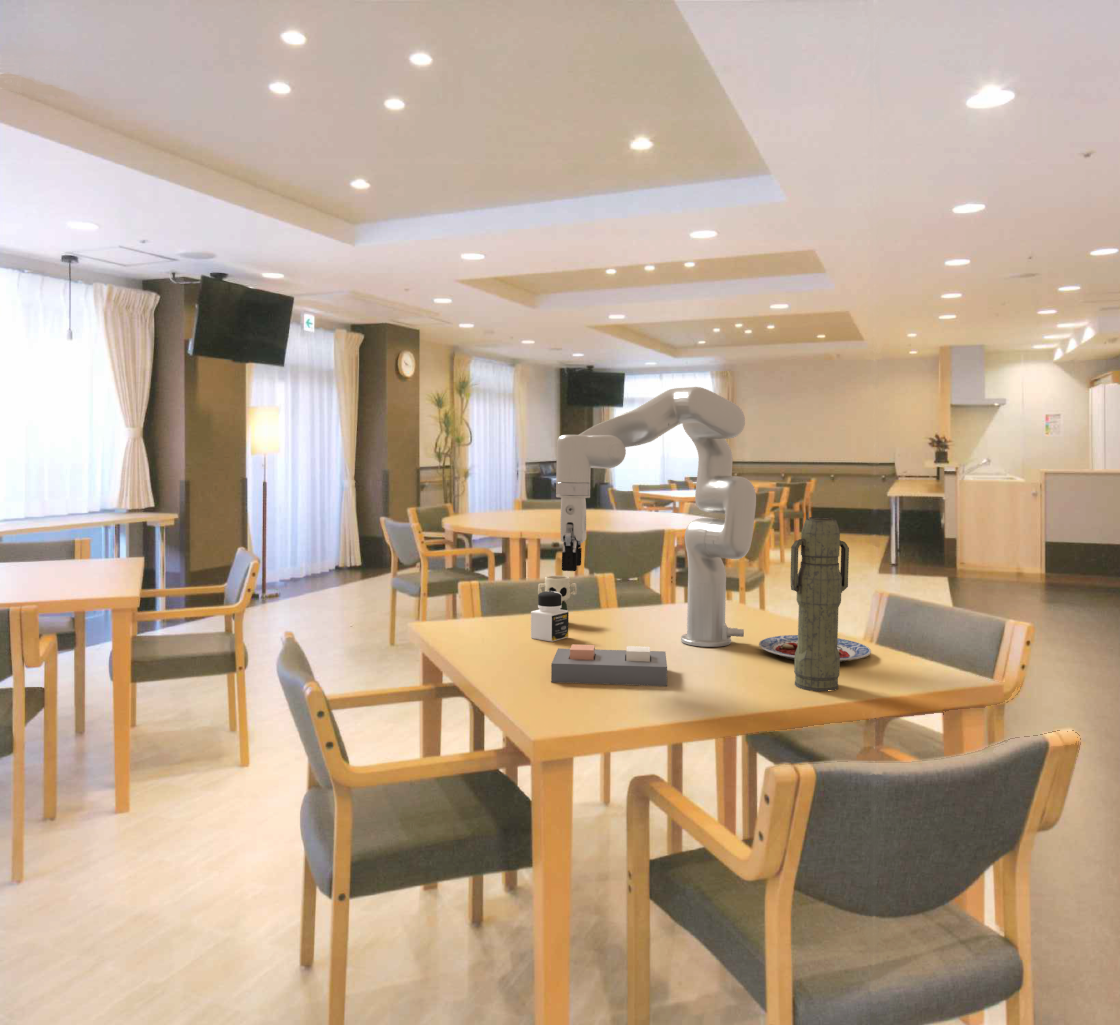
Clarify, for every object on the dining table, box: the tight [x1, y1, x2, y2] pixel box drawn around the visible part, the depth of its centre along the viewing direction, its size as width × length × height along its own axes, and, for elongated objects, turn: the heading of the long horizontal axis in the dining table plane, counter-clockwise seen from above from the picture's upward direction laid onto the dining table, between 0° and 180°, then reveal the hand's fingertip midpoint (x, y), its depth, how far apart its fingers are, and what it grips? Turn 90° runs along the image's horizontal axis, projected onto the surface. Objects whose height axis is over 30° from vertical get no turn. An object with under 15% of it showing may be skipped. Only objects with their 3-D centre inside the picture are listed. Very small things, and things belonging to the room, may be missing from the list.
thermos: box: [790, 516, 850, 692], centre depth 178 cm, size 9×12×35 cm
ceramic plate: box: [758, 634, 872, 663], centre depth 207 cm, size 26×26×3 cm
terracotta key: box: [569, 643, 596, 660], centre depth 187 cm, size 5×5×3 cm
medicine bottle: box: [530, 590, 569, 643], centre depth 223 cm, size 7×7×12 cm
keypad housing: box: [550, 647, 668, 687], centre depth 186 cm, size 24×14×4 cm, turn 85°
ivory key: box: [626, 645, 651, 662], centre depth 185 cm, size 5×5×3 cm
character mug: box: [537, 575, 578, 611], centre depth 243 cm, size 11×7×13 cm, turn 93°
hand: (571, 568), depth 191 cm, fingers open, 9 cm apart
